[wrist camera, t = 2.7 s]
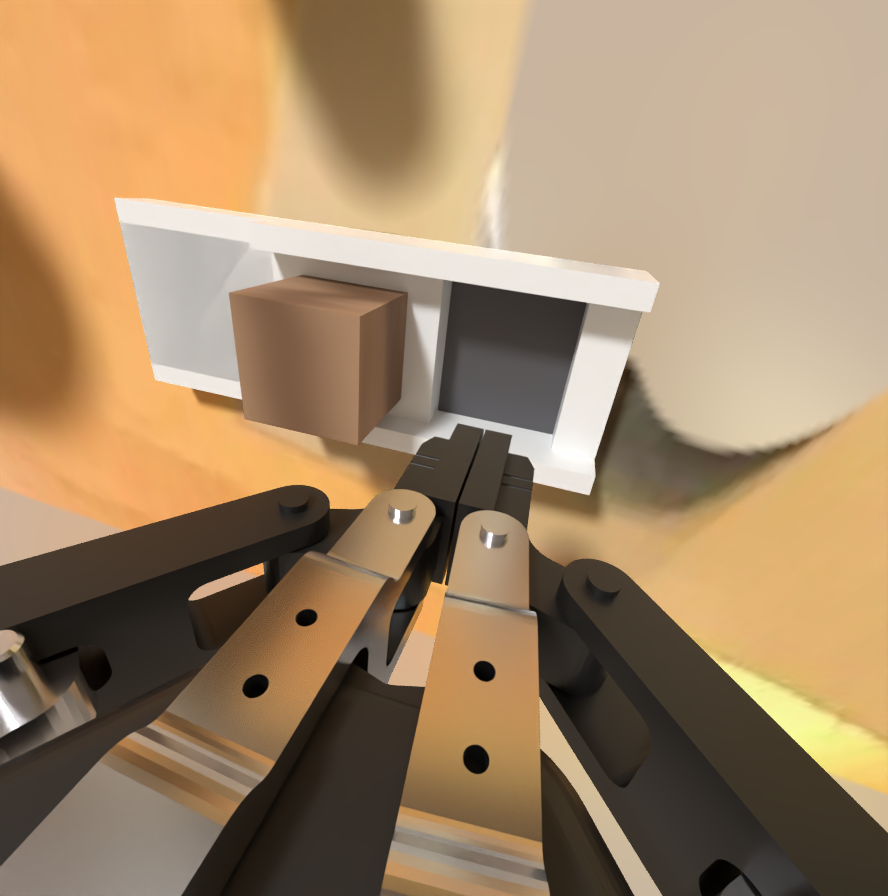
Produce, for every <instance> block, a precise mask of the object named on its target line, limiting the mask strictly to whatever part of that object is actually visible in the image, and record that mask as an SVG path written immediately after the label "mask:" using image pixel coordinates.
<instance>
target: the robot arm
mask: <svg viewBox="0 0 888 896" xmlns="http://www.w3.org/2000/svg"><path fill="white" fill-rule="evenodd" d="M483 434H484V436H483ZM511 439H512V435H510V434H505V433H500V432H496V431H491V430H487V429H486V430H485V433H484V429H482V428H477V427H472V426H468V425H463V424H459V423H458V424H457V425H456V427H455V429H454V431H453V433H452V435H451V437H450V439H445V438H440V437H436V436H435V437H433V438H431V439H429V440H427V441H426V442H424V443H422V444H421V446H420V448H419V449H418V451H417V453H416V455H415V456H414V457H413V459H412V461H411V463H410V464H409V465H408V467H407V469H406V470H405V472H404V474H403V475H402V477H401V478H400V480H399V482H398V483H397V485H396V487H395V488H394V490H388V491H385V492H382V493H380V494H378V495H377V496H375V497H374V498H373V499H372V500H371V501H370V503H369V504H368V505H367V506H366V507H365V509H330V502H329V499H328V497H327V495H326V494H325V493H324V492H322V491H321V490H319V489H316V488H314V487H310V486H305V485H291V486H285V487H280V488H277V489H273V490H270V491H266V492H262V493H259V494H255V495H252V496H248V497H245V498H241V499H238V500H234V501H230V502H227V503H223V504H220V505H216V506H213V507H209V508H205V509H202V510H198V511H195V512H191V513H188V514H184V515H180V516H177V517H173V518H170V519H166V520H163V521H159V522H156V523H152V524H148V525H145V526H141V527H138V528H134V529H131V530H127V531H123V532H120V533H116V534H113V535H109V536H106V537H102V538H99V539H95V540H91V541H88V542H84V543H81V544H77V545H74V546H70V547H66V548H63V549H59V550H56V551H52V552H49V553H45V554H41V555H38V556H34V557H31V558H27V559H24V560H20V561H17V562H13V563H10V564H6V565H2V566H0V896H634V894H633V893H632V891H631V889H630V887H629V885H628V883H627V882H626V880H625V878H624V876H623V874H622V873H621V871H620V869H619V867H618V865H617V864H616V862H615V860H614V858H613V857H612V854H611V853H610V851H609V849H608V847H607V845H606V843H605V842H604V840H603V838H602V836H601V834H600V833H599V831H598V829H597V827H596V825H595V823H594V822H593V820H592V818H591V816H590V815H589V813H588V811H587V809H586V807H585V805H584V804H583V802H582V800H581V799H580V797H579V795H578V793H577V792H576V790H575V789H574V788H573V786H572V785H571V783H570V782H569V781H568V779H567V778H566V776H565V775H564V774H563V772H562V771H561V770H560V769H559V768H558V767H557V765H556V764H555V763H554V762H553V761H552V760H551V758H549V757H548V756H547V755H546V754H545V753H544V752H543V751H542V750H541V749H540V720H539V718H540V716H539V697H540V698H541V700H542V701H543V703H544V705H545V706H546V708H547V710H548V711H549V713H550V714H551V716H552V717H553V719H554V721H555V722H556V724H557V726H558V727H559V729H560V731H561V732H562V734H563V735H564V737H565V739H566V740H567V742H568V743H569V745H570V747H571V748H572V750H573V752H574V753H575V755H576V756H577V758H578V760H579V761H580V763H581V764H582V766H583V768H584V769H585V771H586V773H587V774H588V775H589V777H590V779H591V780H592V782H593V784H594V786H595V787H596V789H597V790H598V792H599V794H600V795H601V797H602V798H603V800H604V802H605V803H606V805H607V807H608V808H609V810H610V811H611V813H612V815H613V816H614V818H615V819H616V821H617V823H618V824H619V826H620V828H621V829H622V831H623V832H624V834H625V836H626V837H627V839H628V840H629V842H630V844H631V845H632V847H633V849H634V850H635V852H636V853H637V855H638V857H639V858H640V860H641V862H642V863H643V865H644V866H645V868H646V870H647V871H648V873H649V874H650V876H651V878H652V879H653V881H654V883H655V884H656V886H657V887H658V889H659V891H660V892H661V894H662V895H663V896H888V833H887V832H886V831H885V830H884V829H883V828H882V827H881V826H880V825H879V824H878V823H877V822H876V821H875V820H874V819H873V818H872V817H871V816H870V815H869V814H868V813H867V812H866V811H865V810H864V809H863V808H862V807H861V806H860V805H859V804H858V803H857V802H856V801H855V800H854V799H853V798H852V797H851V796H850V795H849V794H848V793H847V792H846V791H845V790H844V789H843V788H842V787H841V786H840V785H839V784H838V783H837V782H836V781H835V780H834V779H833V778H832V777H831V776H830V775H829V774H828V773H827V772H826V771H825V770H824V769H823V768H822V767H821V766H820V765H819V764H818V763H817V762H816V761H815V760H814V759H813V758H812V757H811V756H810V755H809V754H808V753H807V752H806V751H805V750H804V749H803V748H802V747H801V746H800V745H799V744H798V743H797V742H796V741H795V740H794V739H793V738H791V737H790V736H789V735H788V734H787V733H786V732H785V731H784V730H783V729H782V728H781V727H780V726H779V725H778V724H777V723H776V722H775V721H774V720H773V719H772V718H771V717H770V716H769V715H768V714H767V713H766V712H765V711H764V710H763V709H762V708H761V707H760V706H759V705H758V704H757V703H756V702H755V701H754V700H753V699H752V698H751V697H750V696H749V695H748V694H747V693H746V692H745V691H744V690H743V689H742V688H741V687H740V686H739V685H738V684H737V683H736V682H735V681H734V680H733V679H732V678H731V677H730V676H729V675H728V674H727V673H726V672H725V671H724V670H723V669H722V668H721V667H720V666H719V665H718V664H717V663H716V662H715V661H714V660H713V659H712V658H711V657H710V656H709V655H708V654H707V653H706V652H705V651H704V650H703V649H702V648H701V647H700V646H699V645H698V644H697V643H696V642H695V641H694V640H693V639H692V638H691V637H690V636H689V635H688V634H686V633H685V632H684V631H683V630H682V629H681V628H680V627H679V626H678V625H677V624H676V623H675V622H674V621H673V620H672V619H671V618H670V617H669V616H668V615H667V614H666V613H665V612H664V611H663V610H662V609H661V608H660V607H659V606H658V605H657V604H656V603H655V602H654V601H653V600H652V599H651V598H650V597H649V596H648V595H647V594H646V593H645V592H644V591H643V590H642V589H641V588H640V587H639V586H638V585H637V584H636V583H635V582H634V581H633V580H632V579H631V578H630V577H629V576H628V575H627V574H625V573H624V572H623V571H621V570H620V569H618V568H616V567H615V566H613V565H611V564H608V563H606V562H603V561H599V560H595V559H580V560H576V561H573V562H571V563H570V564H568V566H567V567H564V566H562V565H560V564H558V563H556V562H554V561H552V560H550V559H549V558H547V557H545V556H544V555H543V554H541V553H540V552H539V551H538V550H537V549H536V548H535V547H534V546H533V544H532V543H531V541H530V540H529V536H528V533H527V525H528V517H529V509H530V501H531V493H532V485H533V477H534V470H535V469H534V467H533V465H532V463H531V462H530V460H529V458H528V457H525V456H521V455H516V454H512V453H508V452H509V448H510V444H511ZM260 563H263V565H264V575H261V576H259V577H256V578H253V579H251V580H248V581H246V582H243V583H240V584H238V585H235V586H233V587H230V588H227V589H225V590H222V591H220V592H217V593H215V594H212V595H210V596H207V597H204V598H202V599H199V600H194V601H189V600H188V599H189V597H190V595H191V594H192V593H193V592H194V591H195V590H196V589H197V588H199V587H200V586H202V585H204V584H206V583H209V582H212V581H214V580H217V579H220V578H222V577H225V576H228V575H231V574H233V573H236V572H239V571H241V570H244V569H247V568H249V567H252V566H255V565H258V564H260ZM447 567H448V569H447ZM446 570H447V575H446V581H445V585H447V586H448V587H447V592H446V593H445V597H444V602H443V606H442V611H441V616H440V620H439V625H438V630H437V634H436V639H435V644H434V648H433V654H432V658H431V662H430V668H429V672H428V677H427V681H426V686H425V687H416V686H415V687H414V686H396V685H389V684H388V681H389V678H390V676H391V674H392V672H393V670H394V668H395V665H396V663H397V661H398V659H399V657H400V655H401V653H402V650H403V648H404V646H405V644H406V642H407V640H408V638H409V636H410V633H411V631H412V629H413V627H414V625H415V623H416V621H417V618H418V616H419V614H420V612H421V610H422V607H423V599H424V598H425V596H426V594H427V592H428V589H429V586H430V583H431V581H432V582H436V583H439V584H442V582H443V579H444V576H445V573H446Z"/></svg>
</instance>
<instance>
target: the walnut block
mask: <svg viewBox="0 0 888 896" xmlns="http://www.w3.org/2000/svg"><path fill="white" fill-rule="evenodd" d="M229 300H230V308H231V316H232V324H233V332H234V339H235V347H236V355H237V363H238V371H239V379H240V387H241V395H242V403H243V411H244V419H246V420H251V421H255V422H259V423H264V424H268V425H272V426H276V427H281V428H285V429H289V430H294V431H298V432H302V433H306V434H311V435H315V436H319V437H323V438H328V439H332V440H336V441H341V442H345V443H349V444H353V445H359V444H360V443H361V442H362V441H363V440H364V438H365V437H366V436H367V435H368V434H369V433H370V432H371V431H372V430H373V429H374V428H375V427H376V425H377V424H378V423H379V422H380V421H381V420H382V419H383V418H384V417H385V416H386V415H387V413H388V412H389V411H390V410H391V409H392V408H393V407H394V406H395V405H396V404H397V403H398V402H399V400H400V399H401V390H402V375H403V360H404V345H405V330H406V315H407V300H408V292H402V291H397V290H391V289H385V288H379V287H373V286H367V285H361V284H355V283H349V282H343V281H337V280H331V279H325V278H319V277H313V276H307V275H299V276H295V277H291V278H287V279H283V280H279V281H275V282H271V283H266V284H262V285H258V286H254V287H250V288H246V289H242V290H238V291H234V292H230V293H229Z"/></svg>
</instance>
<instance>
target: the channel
mask: <svg viewBox="0 0 888 896" xmlns="http://www.w3.org/2000/svg"><path fill="white" fill-rule="evenodd" d="M114 200H115V204H116V209H117V213H118V217H119V222H120V226H121V231H122V235H123V240H124V244H125V248H126V253H127V257H128V262H129V266H130V271H131V275H132V279H133V284H134V288H135V293H136V297H137V302H138V306H139V310H140V315H141V319H142V324H143V328H144V333H145V337H146V341H147V346H148V350H149V355H150V359H151V364H152V368H153V372H154V377H155V380H157V381H162V382H166V383H171V384H175V385H179V386H184V387H188V388H193V389H197V390H202V391H206V392H210V393H215V394H219V395H224V396H228V397H233V398H237V399H241V400H242V395H241V387H240V379H239V371H238V363H237V355H236V347H235V339H234V332H233V324H232V316H231V308H230V300H229V293H230V292H234V291H238V290H242V289H246V288H250V287H254V286H258V285H262V284H266V283H271V282H275V281H279V280H283V279H287V278H291V277H295V276H299V275H307V276H313V277H319V278H325V279H331V280H337V281H343V282H349V283H355V284H361V285H367V286H373V287H379V288H385V289H391V290H397V291H402V292H408V300H407V315H406V330H405V345H404V360H403V375H402V390H401V399H400V400H399V402H398V403H397V404H396V405H395V406H394V407H393V408H392V409H391V410H390V411H389V412H388V413H387V415H386V416H385V417H384V418H383V419H382V420H381V421H380V422H379V423H378V424H377V425H376V427H375V428H374V429H373V430H372V431H371V432H370V433H369V434H368V435H367V436H366V437H365V438H364V440H363V441H362V443H366V444H371V445H375V446H379V447H384V448H388V449H392V450H396V451H401V452H405V453H409V454H414V455H416V453H417V451H418V449H419V448H420V446H421V444H422V443H424V442H426V441H427V440H429V439H431V438H433V437H435V436H436V437H440V438H445V439H450V437H451V435H452V433H453V431H454V429H455V427H456V425H457V424H458V423H459V424H463V425H468V426H472V427H477V428H482V429H484V433H485V430H486V429H487V430H491V431H496V432H500V433H505V434H510V435H512V439H511V444H510V448H509V452H508V453H512V454H516V455H521V456H525V457H528V458H529V460H530V462H531V463H532V465H533V467H534V469H535V470H534V477H533V482H534V483H539V484H543V485H547V486H552V487H556V488H560V489H564V490H569V491H573V492H577V493H582V494H586V495H590V492H591V489H592V486H593V483H594V480H595V477H596V476H595V462H594V459H595V456H596V453H597V450H598V447H599V444H600V441H601V438H602V435H603V432H604V429H605V426H606V422H607V419H608V416H609V413H610V410H611V407H612V404H613V401H614V398H615V395H616V392H617V389H618V385H619V382H620V379H621V376H622V373H623V370H624V367H625V364H626V361H627V358H628V355H629V352H630V348H631V345H632V342H633V339H634V336H635V333H636V330H637V327H638V324H639V321H640V317H641V315H642V312H648V313H650V311H651V308H652V305H653V302H654V299H655V296H656V293H657V290H658V287H659V284H660V283H659V282H658V281H657V280H656V279H654V278H653V277H652V276H651V275H650V274H649V273H648V272H647V271H643V270H636V269H629V268H621V267H615V266H608V265H602V264H595V263H587V262H581V261H573V260H567V259H560V258H554V257H547V256H539V255H533V254H525V253H518V252H512V251H506V250H499V249H492V248H485V247H478V246H471V245H464V244H457V243H451V242H444V241H437V240H430V239H423V238H416V237H409V236H403V235H396V234H389V233H382V232H375V231H368V230H361V229H355V228H348V227H341V226H334V225H327V224H320V223H313V222H307V221H300V220H293V219H286V218H279V217H272V216H265V215H259V214H252V213H245V212H238V211H231V210H224V209H217V208H211V207H204V206H197V205H190V204H183V203H176V202H169V201H163V200H156V199H146V198H114ZM483 436H484V434H483Z"/></svg>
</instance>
